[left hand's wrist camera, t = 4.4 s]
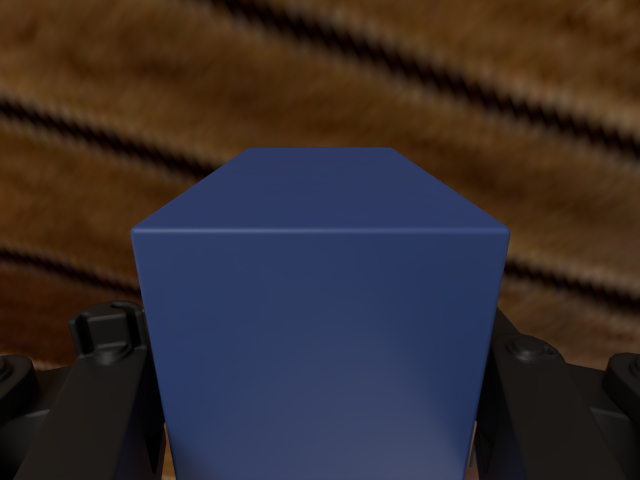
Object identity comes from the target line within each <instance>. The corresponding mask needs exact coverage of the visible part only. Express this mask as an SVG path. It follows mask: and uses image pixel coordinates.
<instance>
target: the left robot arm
mask: <svg viewBox="0 0 640 480" xmlns="http://www.w3.org/2000/svg"><path fill="white" fill-rule="evenodd" d="M68 324H69V328H70V332H71V336H72V339H73V343H74V347H75V350H76V354H77V359H76V361H75V363H74V365H71V366H67V367H62V368H57V369H52V370H47V371H41V372H36V373H35V370H34V367H33V364H32V360H31V359H29V358H28V357H27V356H24V355H16V354H13V355H5V356H0V480H161V477H162V470H163V462H164V455H165V448H166V435H165V429H164V423H165V417H164V412H163V406H162V401H161V395H160V390H159V385H158V379H157V374H156V369H155V363H154V358H153V352H152V347H151V342H150V336H149V331H148V326H147V320H146V315H145V310H144V308H143V309H142V308H141V306H140V305H139V304H137V303H136V302H131V301H127V300H122V301H110V302H105V303H100V304H97V305H94V306H91V307H88V308H86V309H84V310H82V311H81V312H79V313H77V314H75V315H74V316H73V317H72V318H71V319H70V320H69V321H68ZM476 422H477V424H476V429H475V435H474V440H473V445H472V451H471V456H470V462H469V467H471V468H474V467H475V462H476V461H477V469H478V476H479V480H640V354H634V353H619V354H615V355H613V356H612V357H611V358H609V362H608V365H607V368H606V371H603V370H598V369H593V368H587V367H582V366H577V365H572V364H569V363H566V362H565V360H564V358H563V356H562V355H561V354H560V353H559V352H558V351H557V349H556V348H554V347H553V346H551V345H550V344H548V343H547V342H545V341H543V340H540V339H538V338H535V337H533V336H529V335H525V334H520V333H519V332H518V330H517V329H516V328H515V327H514V326H513V325H512V323H511V322H510V321H509V320H508V319H507V318H506V316H505V315H504V314H503V313H502V312H501V310H499V308H498V307H497V308H496V314H495V319H494V324H493V330H492V335H491V340H490V345H489V351H488V356H487V361H486V367H485V372H484V377H483V383H482V388H481V393H480V399H479V404H478V409H477V415H476Z"/></svg>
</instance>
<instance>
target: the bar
mask: <svg viewBox="0 0 640 480" xmlns="http://www.w3.org/2000/svg"><path fill="white" fill-rule="evenodd" d="M509 239H510V230H509V228H508V227H506V226H505V225H504V224H502V223H501V222H499V221H498V220H496V219H495V218H493V217H492V216H490V215H489V214H487V213H486V212H485V211H483V210H482V209H480V208H479V207H477V206H476V205H474V204H473V203H471V202H470V201H468V200H467V199H466V198H464V197H463V196H461V195H460V194H458V193H457V192H455V191H454V190H452V189H451V188H449V187H448V186H447V185H445V184H444V183H442V182H441V181H439V180H438V179H436V178H435V177H433V176H432V175H430V174H429V173H428V172H426V171H425V170H423V169H422V168H420V167H419V166H417V165H416V164H414V163H413V162H411V161H410V160H409V159H407V158H406V157H404V156H403V155H401V154H400V153H398V152H397V151H395V150H394V149H392V148H343V147H250V148H248V149H246V150H245V151H243V152H242V153H241V154H239V155H238V156H236V157H235V158H233V159H232V160H230V161H229V162H227V163H226V164H225V165H223V166H222V167H220V168H219V169H217V170H216V171H214V172H213V173H211V174H210V175H208V176H207V177H206V178H204V179H203V180H201V181H200V182H198V183H197V184H195V185H194V186H192V187H191V188H190V189H188V190H187V191H185V192H184V193H182V194H181V195H179V196H178V197H176V198H175V199H174V200H172V201H171V202H169V203H168V204H166V205H165V206H163V207H162V208H160V209H159V210H158V211H156V212H155V213H153V214H152V215H150V216H149V217H147V218H146V219H144V220H143V221H142V222H140V223H139V224H137V225H136V226H134V227H133V228H132V230H131V240H132V245H133V250H134V256H135V261H136V267H137V272H138V277H139V283H140V288H141V293H142V299H143V304H144V310H145V315H146V320H147V326H148V331H149V336H150V342H151V347H152V352H153V358H154V363H155V369H156V374H157V379H158V385H159V390H160V395H161V401H162V406H163V412H164V417H165V422H166V428H167V433H168V438H169V444H170V449H171V454H172V460H173V465H174V471H175V476H176V480H464V479H465V473H466V468H467V463H468V457H469V452H470V447H471V441H472V436H473V431H474V425H475V420H476V415H477V409H478V404H479V399H480V393H481V388H482V383H483V377H484V372H485V367H486V361H487V356H488V351H489V345H490V340H491V335H492V330H493V324H494V319H495V314H496V308H497V303H498V298H499V292H500V287H501V282H502V276H503V271H504V266H505V260H506V255H507V250H508V244H509Z"/></svg>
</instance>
